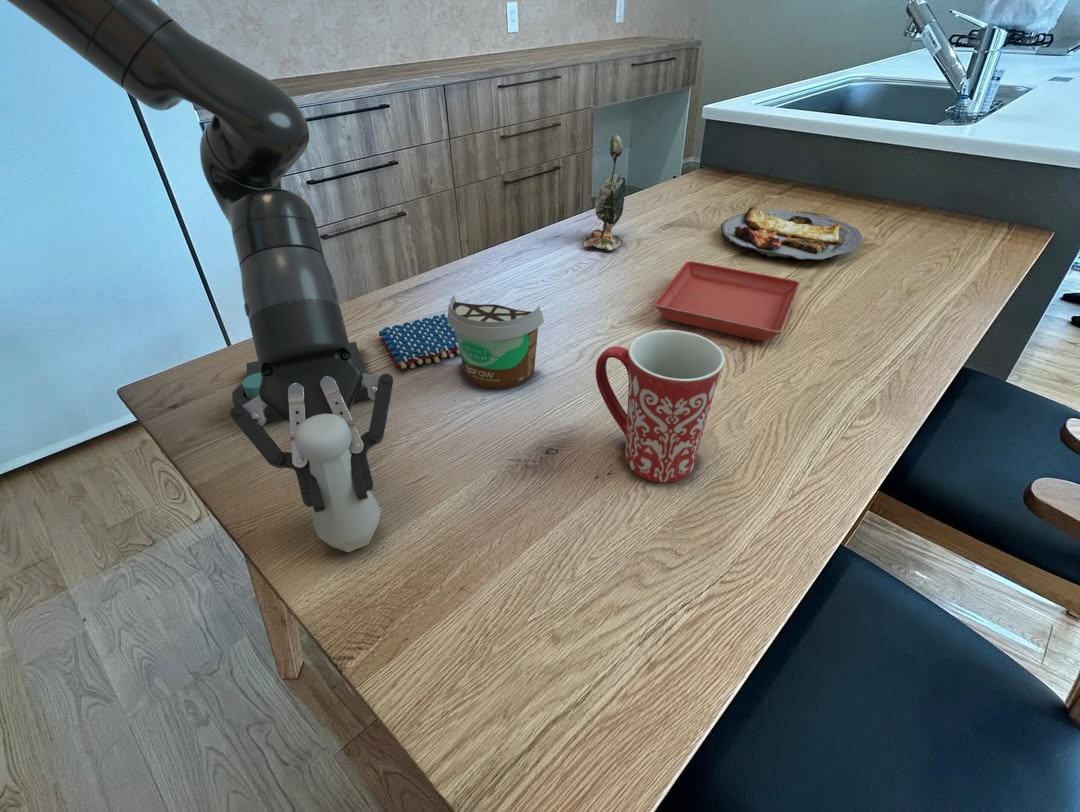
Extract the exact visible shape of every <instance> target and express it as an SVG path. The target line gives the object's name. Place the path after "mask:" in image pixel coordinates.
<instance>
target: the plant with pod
mask: <svg viewBox="0 0 1080 812" xmlns="http://www.w3.org/2000/svg"><path fill="white" fill-rule="evenodd" d="M609 143H610V146H609V147H610V149H609V154H610V156H611V158H612V161H613V169H612V175H610V176H609V177H608V178H607V179H606V180H605V181H604V183H603V184H602V185H601V187H600V188H599V189H598V192H597V194H596V196H595V204H594V208H595V216H596V217H597V219H598V220H600V221H602V222H603V225H602V230H601V229H593V231H592V232H591V233H588V234H587V236H585V237H583V248H589V247H594V248H598V249H600V250H601V249H602V250H605V251H606V252H611V251H614V250H616V249H617V248H619V246H622V245H623V243H624V242H623V239H621V236H620V235H619V234H618V235H616V234H615V235H613V234H612V233H613V232H612V230H613V228H614V227H615V226H616V225H617V223H618V222H619V220H620V219H621V216H622V215H623V212H624V204H625V196H626V192H627V186H626V184H627V183H626V177H625V176H623V175H621V174H615V170H616V164H617V158H619V157H620V156H621V155H622V153H623V150H624V146H623V145H624V144H623V140H622V137H620V136H619V135H618V133H616V134H614V135H612V136H611V139H610V142H609ZM625 175H626V176H628V174H627V173H626V174H625Z"/></svg>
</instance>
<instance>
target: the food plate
mask: <svg viewBox="0 0 1080 812" xmlns="http://www.w3.org/2000/svg"><path fill="white" fill-rule="evenodd" d="M720 229H721V235H723V237H724V238H726V239H725V241H728V242H730V243H731V242H734V244H735V245H736V246H738V247H744V248H749V249H752V250H754V251H755V252H757V253H759V254H762V255H766V257H780V258H790V257H792V258H794V259H797V260H826V259H827V258H833V257H834V256H837V255H843V254H847V253H849V252H851V251H853V250H855V249H857V248H858V247H859V246H860V245H861V244H862V243H863V241H864V240H865V236H864V235H863V234H862V232H861V230H859V228H858V227H856V226H854V224H851V223H849V222H847V221H844V220H839V219H838V218H835V217H831V216H830V215H827V214H823V213H817V212H809V211H798V210H787V209H785V210H784V209H766V210H761V209H760V208H759V207H757V206H750V207H749V208H748V210H747V211H746V212H744V213H740V214H739V213H738V214H736V215H734V216H732V217H731V216H730V217H729V218H727V219H725V220H724V221H723V222H722V223H721V225H720Z"/></svg>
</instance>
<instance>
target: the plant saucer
mask: <svg viewBox="0 0 1080 812" xmlns="http://www.w3.org/2000/svg"><path fill="white" fill-rule="evenodd" d="M800 285H801V282H800V281H798V280H795V279H790V278H785V277H779V276H774V275H768V274H763V273H758V272H752V271H746V270H743V269H742V270H741V269H737V268H731V267H726V266H719V265H714V264H710V263H704V262H699V261H698V262H697V261H694V260H693V261H691V260H689V261H685V262H684V264H683V265H682V266H681V268H680V269H679V270H678V271H677V273H676V274H675V275H674V276H673V278H672V279H671V280H670V282H668V284H667V285H666V287H665V288H664V289H663V291H662V292H661V293H660V294H659V296H658V297H657V299H656V300H655V301H654V307H655V308H656V309H657V310H658V312H659V313H660V314H661V315H662V316H664V318H665V319H666V320H668V321H670V322H674V323H677V324H678V323H679V324H683V325H687V326H691V327H696V328H701V329H705V330H710V331H713V332H718V333H724V334H728V335H731V336H736V337H741V338H744V339H750V340H754V341H758V342H766V341H768V340H771V339H773V338H775V337H776V336H778V335H780V334H781V333H782V332H783V331H784V329H785V325H786V323H787V320H788V317H789V315H790V312H791V310H792V307H793V303H794V301H795V298H796V296H797V293H798V291H799V288H800Z"/></svg>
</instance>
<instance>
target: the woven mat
mask: <svg viewBox="0 0 1080 812" xmlns="http://www.w3.org/2000/svg"><path fill="white" fill-rule="evenodd" d="M447 318H448V316H446V314H445V313H442V314H441V315H439V314H437V315H433V316H429V318H428V317H422V318H419V319H415V320H414V321H413V322H412V321H410V322H407V321H405V322H404V323H400V324H395V325H393V326H385V327H384V328H382V329H381V330H378V336H379V337H380V340H381V341H382V342H383V344H384V346H385V347H386V351H388V353H389V355H390V356H391V358H392V360H393V361H394V363H395V364H396V365H395V367H396V368H399V369H402V370H404V369H406V368H407V367H408V366H409V368H410V369H412V370H413V369H415V368H416V364H415V363H417V365H420V366H421V365H422V364H423V363H424V361H425V363H426V364H428V365H429V364H431V363H432V360H433V361H434V363H437V364H440V362H441V360H440V358H442V359H445V358H448V356H449V358H450V359H453V358H454V357H455V354H457V355H460V350H459V346H458V341H457V337H456V332H455V330H453V329H452V328H451V327H450V325H449V324H448V320H447ZM454 352H455V354H454ZM439 357H440V358H439ZM431 358H432V360H431Z"/></svg>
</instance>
